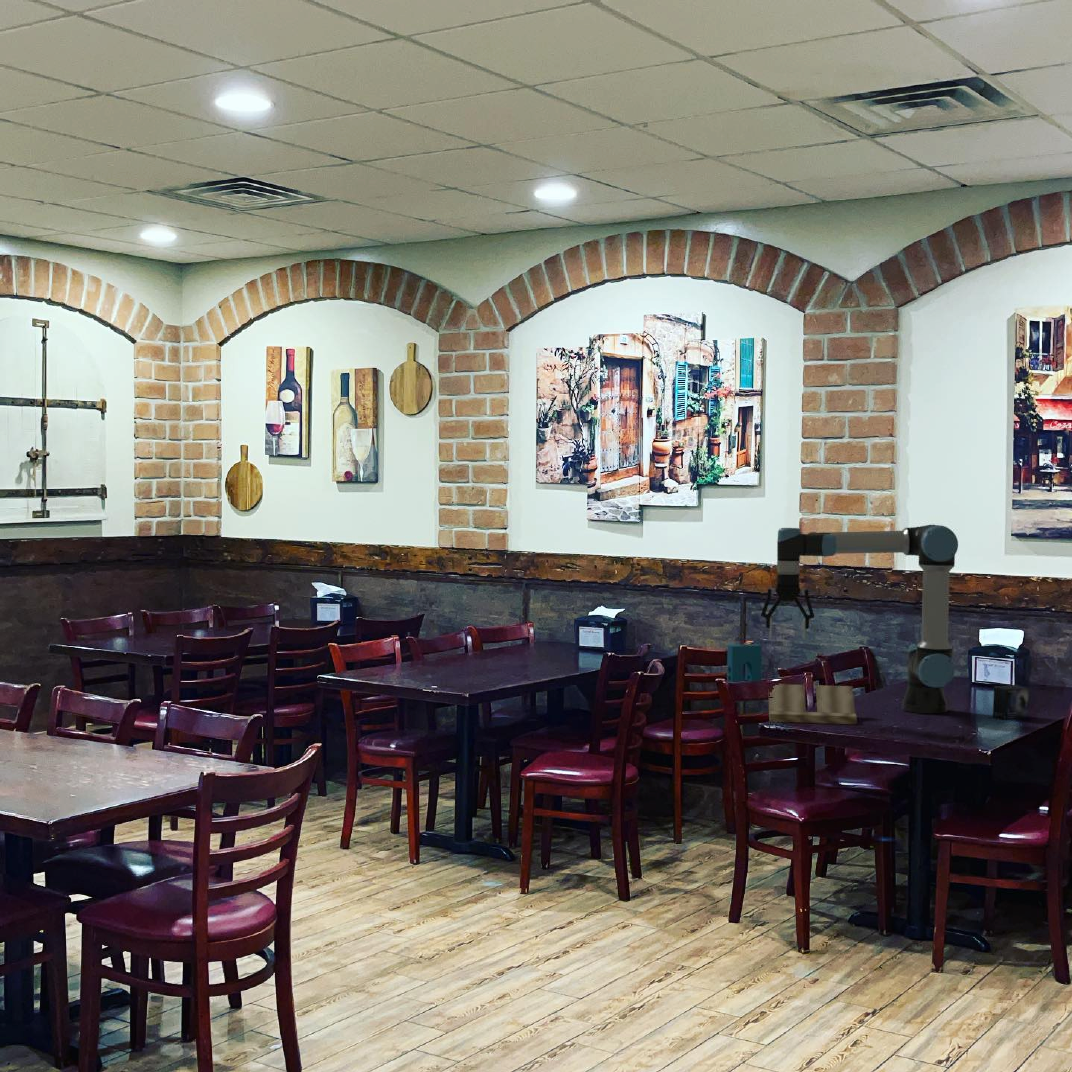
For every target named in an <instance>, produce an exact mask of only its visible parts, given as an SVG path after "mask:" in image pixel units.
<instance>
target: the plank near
mask: <svg viewBox="0 0 1072 1072" xmlns="http://www.w3.org/2000/svg"><path fill="white" fill-rule="evenodd" d="M853 688H854V687H853V686H851V685H826V684H825V685H822V684H821V685H820V684H816V688H815V694H816V709H817V710H816V712H821V713H853V714H856V712H855V698H854V689H853Z"/></svg>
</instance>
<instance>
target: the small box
mask: <svg viewBox="0 0 1072 1072" xmlns="http://www.w3.org/2000/svg"><path fill="white" fill-rule="evenodd" d="M1029 696H1030V688H1029V687H1026V686H1022V685H1018V684H1012V685H1011V684H1010V685H997V686H996V685H995V686H994V687H993V705H992V717H993V718H997V719H1002V720H1014V719H1015V720H1016V719H1017V720H1018V719H1028V718H1029V702H1030V701H1029V700H1030V698H1029Z"/></svg>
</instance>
